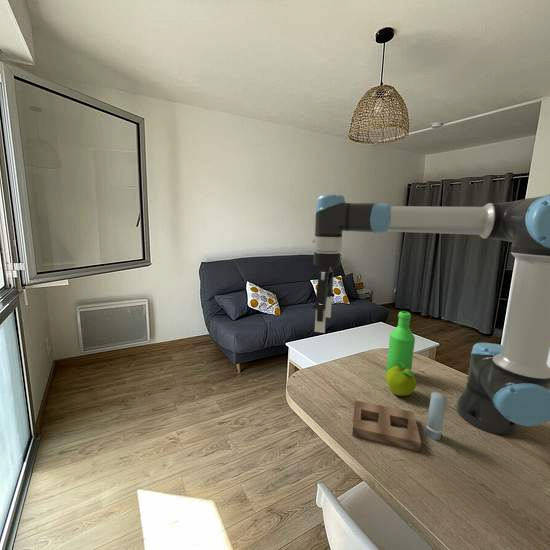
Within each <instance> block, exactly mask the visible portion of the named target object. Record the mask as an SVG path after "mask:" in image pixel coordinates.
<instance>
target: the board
mask: <svg viewBox="0 0 550 550" xmlns="http://www.w3.org/2000/svg"><path fill="white" fill-rule="evenodd" d="M362 418H365V419H370V420H375V421H377V422H373V421H367V420H363V419H362ZM352 420H353V421H352V431H351V432H352V433H351V434H352V436H354V437H356V438H357V437H358V438H363V439H365V440H369V441H374V442H375V441H376V442H379V443H383V444H387V445H393V446H395V447H396V446H397V447H401V448H406V449H410V450H413V451H418V452H421V448H422V441H421V436H420V433H419V428H418V425H417V421H416V420H417V419H416V416H415V412H414V411H412V410H411V411H410V410H407V409H401V408H395V407H391V406H385V405H381V404H380V405H379V404H377V403H375V404H374V403H371V402H365V401H361V400H357V399H356V400H354V406H353V418H352ZM391 424H394V425H399V426H403V427H407V429H406V428H401V427H396V426H392V425H391Z"/></svg>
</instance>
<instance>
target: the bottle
mask: <svg viewBox="0 0 550 550" xmlns="http://www.w3.org/2000/svg"><path fill="white" fill-rule="evenodd" d="M397 317H398V322H397V326H396V327H395V328H394V329H393V330H392V331H391V332H390V333H389V342H388V351H387V362H386V372H387V371H388V370H389V369H391V368H392V367H394V366H398V365H397V364H396V362H402V363H404V365H405V368H407V369H409V370H411V371H412V368H413V357H414V353H415V351H414V350H415V343H416V337H415V335H414V334H413V332H412V329H410V322H411V318H412V315H411V313H410V312H409V311H404V310H402V311H399V312H398V315H397Z"/></svg>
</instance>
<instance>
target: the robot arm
mask: <svg viewBox="0 0 550 550" xmlns="http://www.w3.org/2000/svg"><path fill="white" fill-rule="evenodd" d="M345 199H346V198H345V196H344V195H342V194H322V195H319V196H317V200H316V210H315V224H314V225H315V229H314V239H312V243H314V250H315V252H314V253H313V262H312V263H313V265H314V266H315V267H320V270H319V271H318V273H317V277H318V278H317V286H316V295H315V303H314V305H312V309H313V310H315V316H314V317H315V318H314V319H315V320H314V333H323V334H325V333H326V318H329V319H331V318H332V316H331V315H332V304H333V303H332V302H333V297H335V293H334V285H333V284H334V276H335V275H334V274H335V273H334V268H339V267H340V266H341V261H342V259H341V258H342V254H341V253H340V252H341V251H342V248H343V246H342V244H343V232H360V233H361V232H362V233H374V234H376V233H387V232H394V233H396V232H397V233H417V234H419V233H420V234H421V233H423V234H449V235H451V234H452V235H473V236H474V235H478V236H480V237H481V238H482V239H484V240H485V239H488V240H489V239H491V240H498V241H505V242H510V243H511V250H510V254H511V255H512V256H513V258H514V259H516V261H517V263H516V268H515V273H514V280H513V286H512V292H511V294H510V295H511V296H510V301H509V309H508V314H507V317H506V324H505V330H504V335H503V341H502V344H498V343H491V342H490V343H489V342H477V343H475V344H473V346H472V351H470V355H471V356H470V360H469V361H470V362H469V367H468V375H467V382H466V387H465V388H464V389H463V392H462V393H461V394H460V396H459V398H458V399H457V403H456V408H455V410H456V413H457V414H458V415H459V417H461V418H462V419H463V420H465V421H466V422H467V423H468V424H469V425H471V426H473V427H475V428H478V429H480V430H483V431H486V432H488V433H492V434H497V435H512V434H514V433H516V432H517V430H518V426H523V427H536V426H537V427H538V426H541V425H542V424H545V423H549V422H550V367H549V366H548V363H547V362H548V358H549V354H550V194H545V195H542V196H535V197H530V198H529V197H528V198H524V199H519V200H515V201H506V202H496V203H495V202H494V203H493V202H488V203H486V204H485V205H484V206H429V205H428V206H424V205H423V206H417V205H416V206H409V205H404V206H403V205H400V206H399V205H397V206H396V205H391V204H390V203H381V202H360V203H359V202H357V203H356V202H355V203H354V202H353V203H351V202H346V200H345Z"/></svg>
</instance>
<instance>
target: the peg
mask: <svg viewBox="0 0 550 550" xmlns="http://www.w3.org/2000/svg"><path fill="white" fill-rule="evenodd" d="M446 404H447V397H446V396H445V395H444V394H443V393H440V392H436V391H435V392H431V394H430V402H429V407H428V408H429V409H428V416H427V422H426V431H425V434H426V436H427V437H428V438H429V439H431V440H434V441H439V440H441V437H442V431H443V424H444V417H445V411H446Z"/></svg>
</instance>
